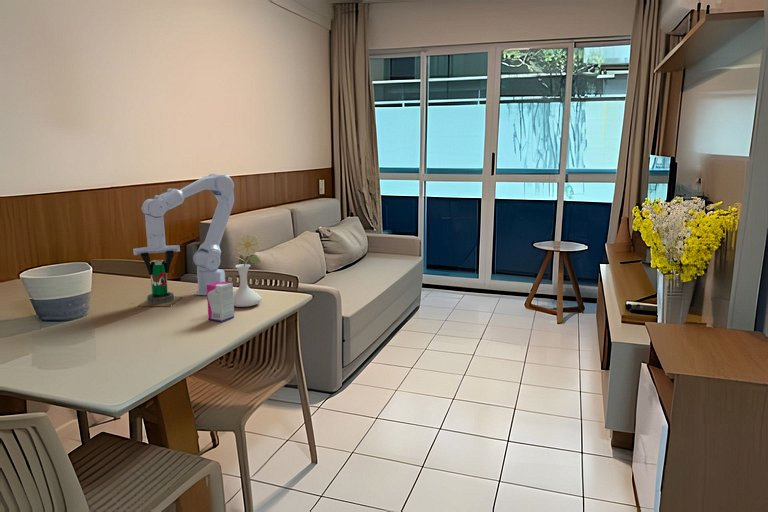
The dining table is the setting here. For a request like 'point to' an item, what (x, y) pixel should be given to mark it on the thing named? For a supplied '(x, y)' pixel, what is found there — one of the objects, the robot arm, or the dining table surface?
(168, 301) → the can socket
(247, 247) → the flower in vase
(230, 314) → the supplement box
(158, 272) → the soda can
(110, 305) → the dining table surface
